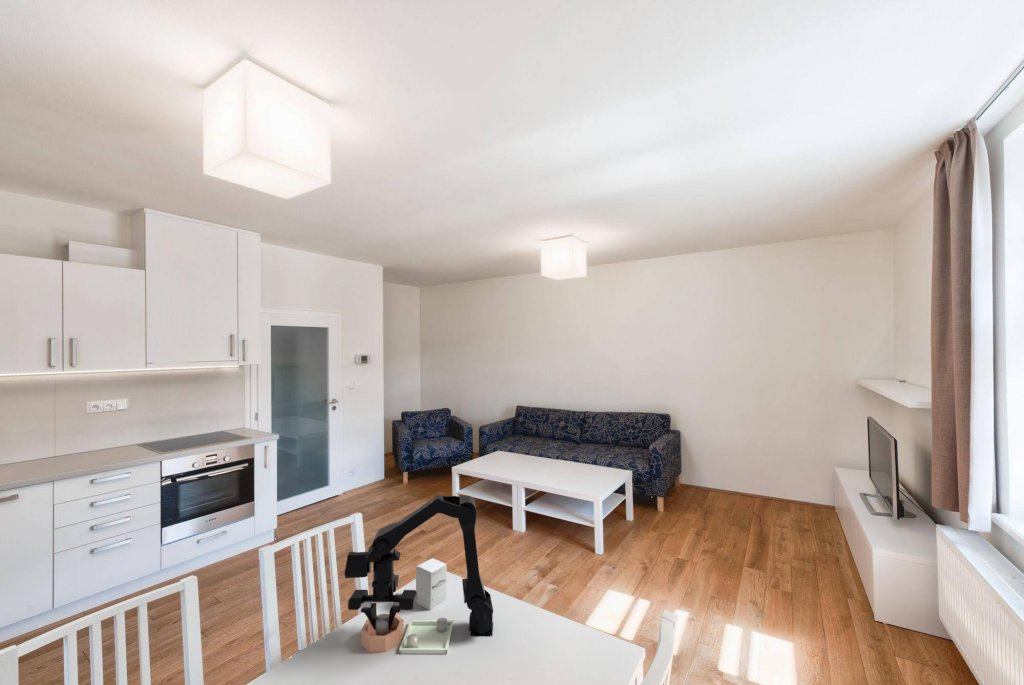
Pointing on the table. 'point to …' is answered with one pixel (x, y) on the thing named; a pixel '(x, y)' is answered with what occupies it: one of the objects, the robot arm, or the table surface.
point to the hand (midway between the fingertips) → (382, 629)
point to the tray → (427, 637)
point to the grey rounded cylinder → (382, 625)
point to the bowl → (382, 642)
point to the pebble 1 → (412, 641)
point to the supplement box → (431, 583)
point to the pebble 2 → (441, 625)
